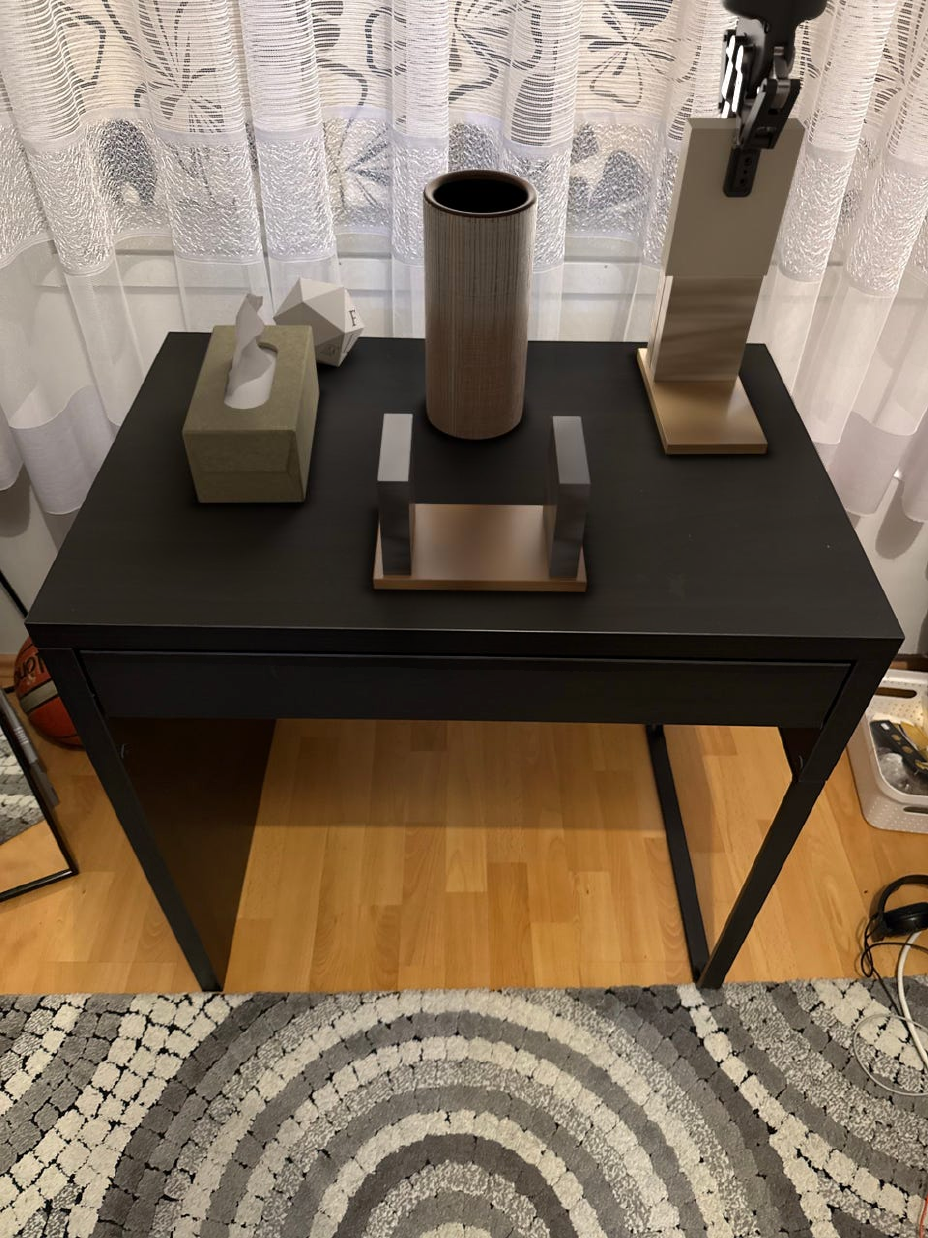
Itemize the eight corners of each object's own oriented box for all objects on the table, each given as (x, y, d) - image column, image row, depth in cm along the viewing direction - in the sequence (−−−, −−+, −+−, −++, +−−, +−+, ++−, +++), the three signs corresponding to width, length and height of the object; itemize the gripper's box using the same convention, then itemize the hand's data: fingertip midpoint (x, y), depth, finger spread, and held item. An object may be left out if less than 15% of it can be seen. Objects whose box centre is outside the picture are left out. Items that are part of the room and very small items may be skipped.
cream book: (767, 275, 81) (806, 128, 72) (664, 276, 81) (692, 128, 72) (759, 262, 83) (797, 117, 74) (659, 263, 82) (685, 117, 74)
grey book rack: (575, 515, 86) (589, 412, 78) (585, 592, 79) (601, 488, 71) (381, 513, 86) (374, 409, 78) (373, 589, 79) (365, 485, 71)
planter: (537, 430, 95) (556, 206, 78) (444, 449, 93) (444, 221, 76) (501, 379, 101) (512, 162, 85) (414, 395, 99) (408, 175, 82)
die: (307, 392, 100) (359, 319, 95) (246, 334, 100) (294, 258, 95) (341, 378, 108) (390, 311, 103) (284, 324, 107) (330, 254, 102)
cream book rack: (764, 453, 93) (802, 333, 83) (665, 454, 93) (691, 333, 83) (724, 357, 105) (752, 243, 96) (636, 357, 105) (656, 243, 95)
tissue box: (304, 505, 86) (283, 352, 75) (198, 506, 86) (160, 352, 74) (319, 392, 99) (303, 247, 88) (227, 392, 99) (199, 246, 87)
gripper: (711, -91, 69) (669, 155, 81) (760, -46, 59) (704, 225, 72) (811, -90, 69) (754, 155, 82) (876, -45, 59) (800, 224, 72)
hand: (731, 186), depth 77 cm, fingers closed on cream book, 2 cm apart
